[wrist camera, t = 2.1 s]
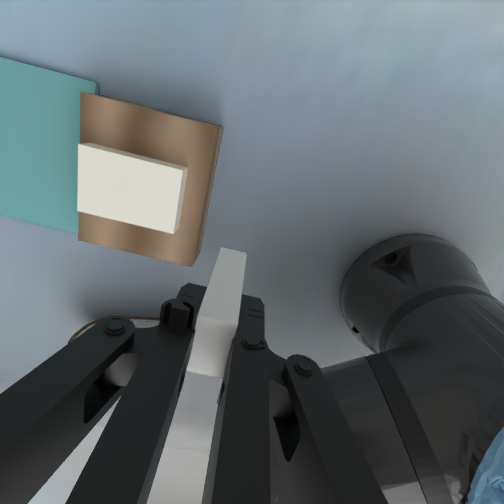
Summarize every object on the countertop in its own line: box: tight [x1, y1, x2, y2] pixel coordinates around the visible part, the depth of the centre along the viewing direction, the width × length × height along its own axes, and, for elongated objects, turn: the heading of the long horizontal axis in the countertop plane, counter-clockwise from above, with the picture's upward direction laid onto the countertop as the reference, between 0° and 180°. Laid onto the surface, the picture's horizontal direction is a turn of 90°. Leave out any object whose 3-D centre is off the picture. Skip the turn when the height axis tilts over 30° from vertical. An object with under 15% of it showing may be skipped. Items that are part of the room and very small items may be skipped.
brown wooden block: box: [78, 91, 223, 267], centre depth 30 cm, size 12×14×4 cm
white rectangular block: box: [77, 143, 188, 234], centre depth 28 cm, size 9×6×2 cm, turn 76°
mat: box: [0, 57, 99, 234], centre depth 31 cm, size 18×16×1 cm
